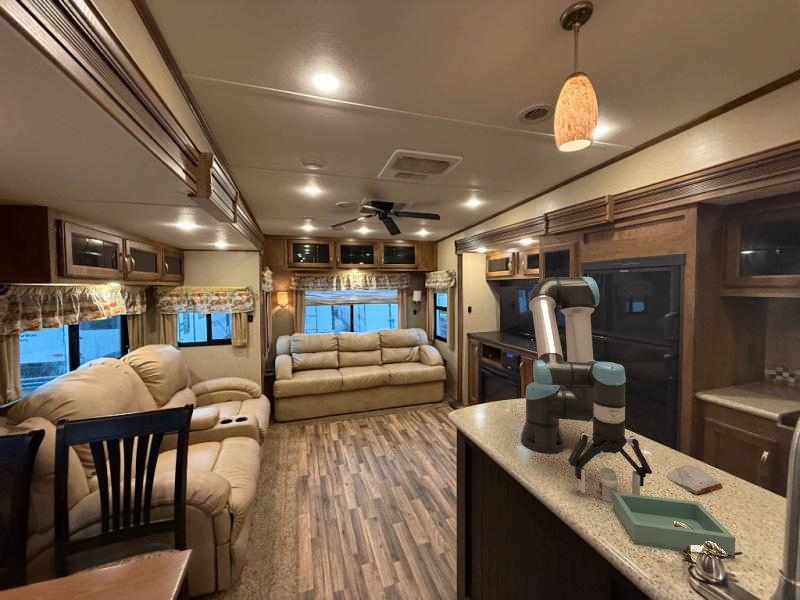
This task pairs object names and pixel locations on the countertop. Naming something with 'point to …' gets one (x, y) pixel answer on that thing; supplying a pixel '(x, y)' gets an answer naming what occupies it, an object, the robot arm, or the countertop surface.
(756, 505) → the countertop surface
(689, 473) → the stone
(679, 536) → the tray
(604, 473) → the pill bottle
